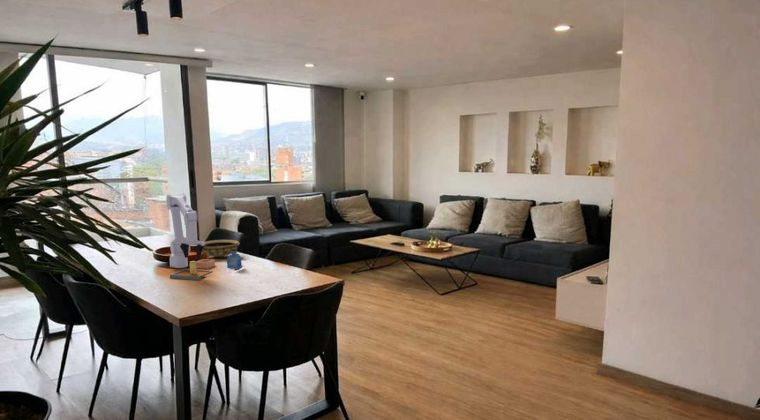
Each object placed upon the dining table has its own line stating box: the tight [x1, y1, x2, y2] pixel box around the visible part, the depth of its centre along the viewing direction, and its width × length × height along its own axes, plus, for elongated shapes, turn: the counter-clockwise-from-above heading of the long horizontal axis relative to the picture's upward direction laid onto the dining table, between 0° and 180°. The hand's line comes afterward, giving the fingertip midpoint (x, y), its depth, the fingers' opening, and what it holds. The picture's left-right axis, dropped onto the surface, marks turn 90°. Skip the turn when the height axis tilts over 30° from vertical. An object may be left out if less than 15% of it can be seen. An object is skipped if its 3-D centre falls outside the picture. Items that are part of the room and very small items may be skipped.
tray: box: [169, 268, 214, 281], centre depth 274 cm, size 18×13×2 cm
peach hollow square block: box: [196, 258, 216, 270], centre depth 290 cm, size 8×8×5 cm
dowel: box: [189, 260, 197, 275], centre depth 273 cm, size 3×3×8 cm
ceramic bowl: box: [202, 239, 240, 260], centre depth 320 cm, size 30×24×10 cm
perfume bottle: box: [226, 248, 243, 271], centre depth 290 cm, size 6×6×12 cm
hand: (192, 257), depth 273 cm, fingers open, 7 cm apart
